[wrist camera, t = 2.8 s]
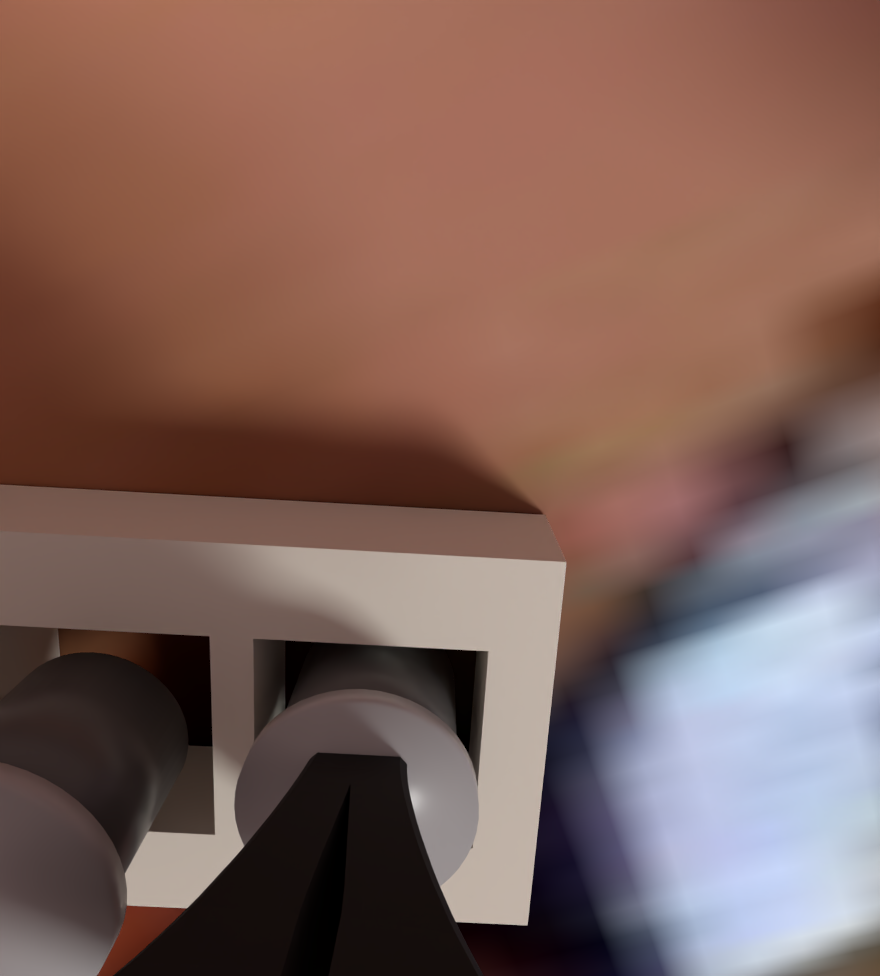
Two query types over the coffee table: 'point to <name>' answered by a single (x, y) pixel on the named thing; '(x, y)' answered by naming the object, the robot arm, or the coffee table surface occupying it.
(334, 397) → the coffee table surface
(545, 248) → the coffee table surface
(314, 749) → the knob
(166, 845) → the knob board
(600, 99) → the coffee table surface
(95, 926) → the knob middle
